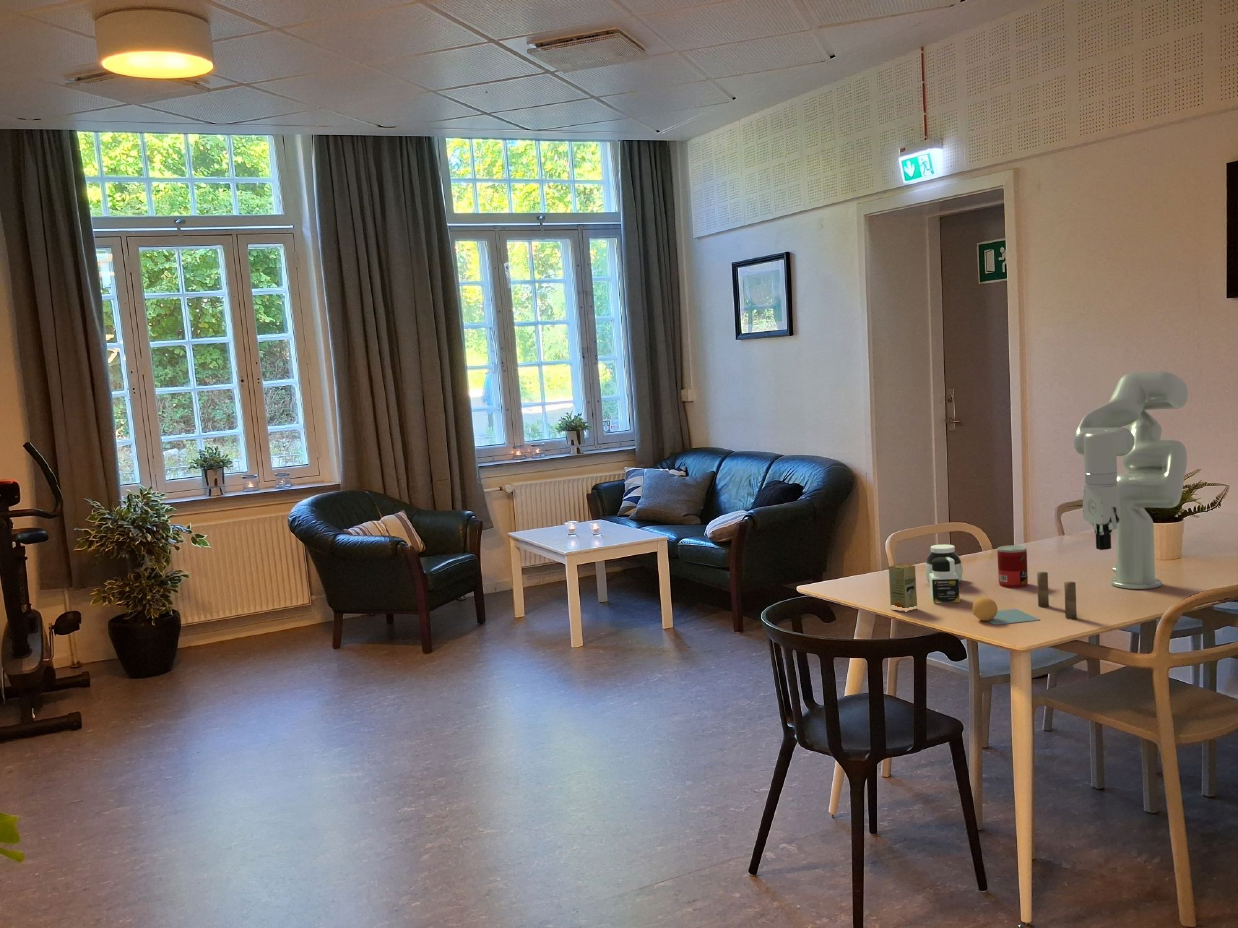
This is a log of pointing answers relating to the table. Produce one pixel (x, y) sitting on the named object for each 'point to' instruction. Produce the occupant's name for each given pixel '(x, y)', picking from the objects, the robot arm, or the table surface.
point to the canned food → (1012, 566)
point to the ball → (985, 609)
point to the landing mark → (1011, 617)
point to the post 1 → (1042, 589)
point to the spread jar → (944, 552)
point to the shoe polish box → (902, 585)
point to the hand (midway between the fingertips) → (1103, 548)
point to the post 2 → (1070, 600)
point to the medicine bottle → (944, 581)
